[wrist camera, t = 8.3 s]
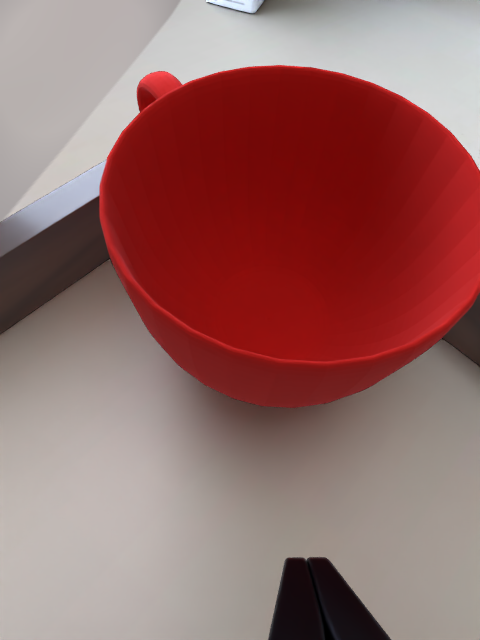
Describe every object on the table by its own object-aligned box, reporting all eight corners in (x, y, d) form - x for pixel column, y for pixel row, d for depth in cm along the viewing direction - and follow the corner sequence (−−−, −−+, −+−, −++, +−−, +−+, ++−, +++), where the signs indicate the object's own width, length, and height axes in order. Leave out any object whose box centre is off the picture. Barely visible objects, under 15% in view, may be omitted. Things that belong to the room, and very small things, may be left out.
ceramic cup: (247, 161, 28) (259, -12, 19) (438, 348, 22) (583, 223, 13) (68, 249, 24) (-19, 83, 15) (244, 507, 18) (266, 477, 9)
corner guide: (591, 414, 21) (678, 385, 17) (312, 895, 13) (352, 1049, 9) (229, 148, 29) (230, 85, 25) (-82, 354, 21) (-153, 311, 17)
